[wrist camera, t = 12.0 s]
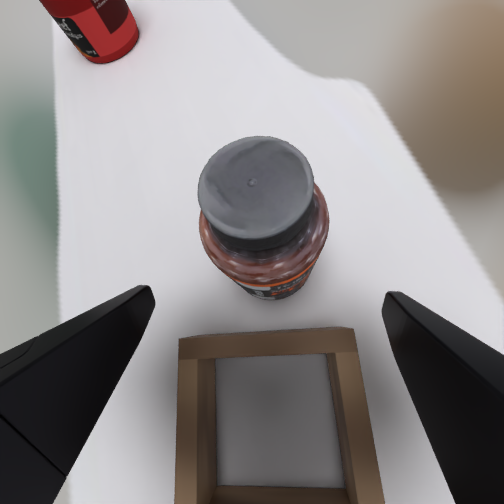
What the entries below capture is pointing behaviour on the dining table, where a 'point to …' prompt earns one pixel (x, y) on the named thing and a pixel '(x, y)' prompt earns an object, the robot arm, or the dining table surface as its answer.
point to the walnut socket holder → (204, 417)
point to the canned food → (96, 26)
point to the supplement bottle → (262, 215)
